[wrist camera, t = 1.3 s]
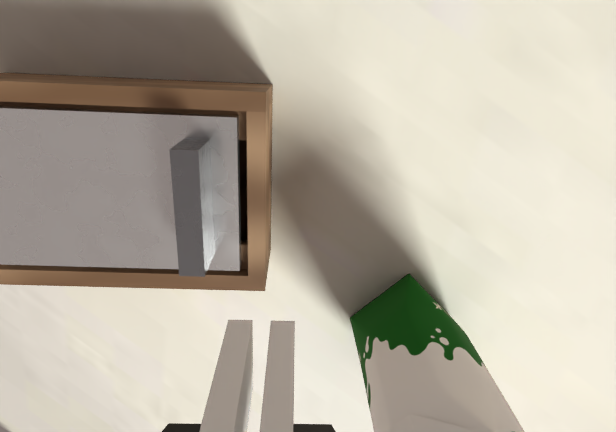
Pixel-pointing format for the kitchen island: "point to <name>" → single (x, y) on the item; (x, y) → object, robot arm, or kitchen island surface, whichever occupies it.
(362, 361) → the milk carton
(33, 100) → the box
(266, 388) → the robot arm
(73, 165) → the cover plate
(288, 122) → the kitchen island surface
